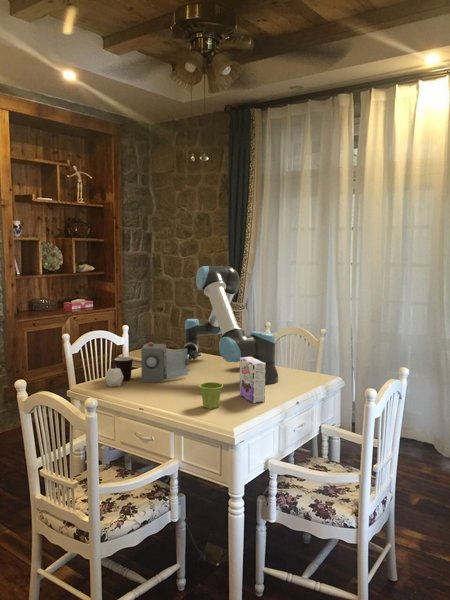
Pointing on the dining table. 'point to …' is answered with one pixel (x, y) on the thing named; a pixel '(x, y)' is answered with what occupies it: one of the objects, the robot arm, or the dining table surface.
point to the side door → (175, 363)
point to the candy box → (252, 379)
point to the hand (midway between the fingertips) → (186, 359)
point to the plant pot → (211, 394)
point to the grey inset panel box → (152, 362)
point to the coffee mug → (124, 366)
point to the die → (114, 377)
